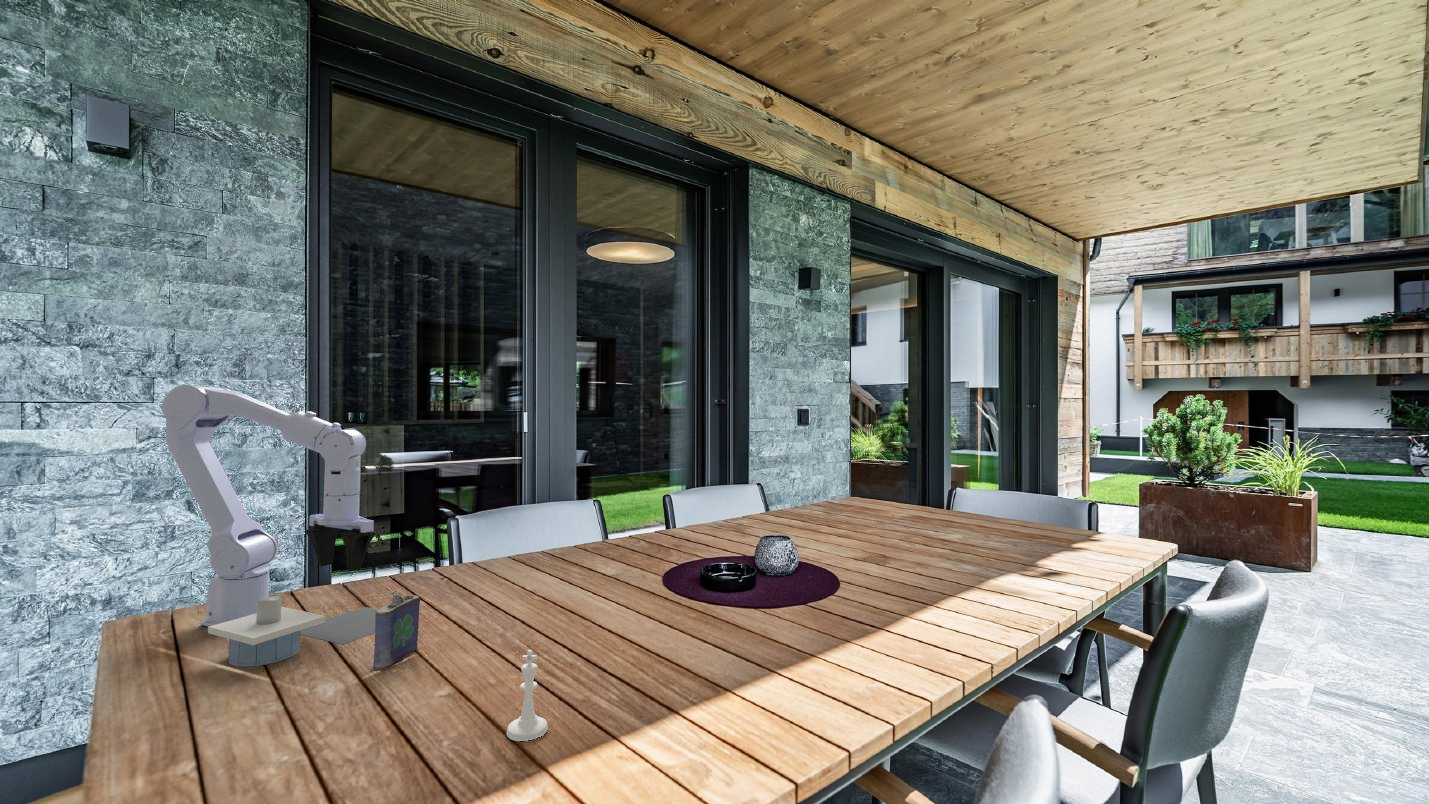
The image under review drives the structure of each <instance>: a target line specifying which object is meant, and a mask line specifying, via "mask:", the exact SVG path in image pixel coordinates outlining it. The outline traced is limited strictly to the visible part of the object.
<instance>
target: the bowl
mask: <svg viewBox="0 0 1429 804" xmlns="http://www.w3.org/2000/svg"><path fill="white" fill-rule="evenodd" d="M228 640H229V641H228V664H230V665H231V666H234V667H241V668H242V667H259V666H265V665H269V664H275V663H278V662H281V661H284V660H286V659H289V658H292V657H293V656H294V655H296V654H297V653H298V652H299V650H300V649H301V648H300V646H301V635H300V630H299V631H296V632H293V633H290V634H287V635H284V636H280V637H277V638H274V639H271V640H268V641H265V642H262V643H258V644H255V645H250V644H247V643H243V642H239V641H235V640H231V639H228Z"/></svg>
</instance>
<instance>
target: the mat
mask: <svg viewBox="0 0 1429 804" xmlns="http://www.w3.org/2000/svg"><path fill="white" fill-rule="evenodd" d="M379 609H380V608H378V609H377V608H373V607H367V606H363V607H360V608H357V609H353V610H351V611H347V612H343V613H341V614H337V615H335V616H331V617H326V621H325V623H321V624H318V625H315V626H312V627H309V628H306V629H303V630H300V636H304V637H309V638H312V639H313V638H314V639H318V640H321V641H325V642H330V643H334V644H338V645H341V646H342V645H345V644H348V643H352V642H354V641H357V640H359V639H362V638H365V637H369V636H371V635H375V621H376V617H375V616H376V611H377V610H379Z"/></svg>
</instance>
